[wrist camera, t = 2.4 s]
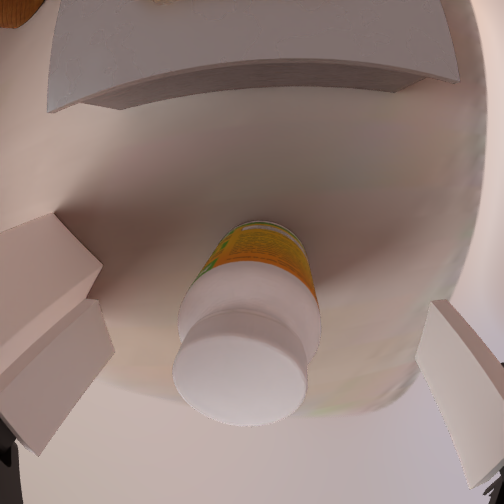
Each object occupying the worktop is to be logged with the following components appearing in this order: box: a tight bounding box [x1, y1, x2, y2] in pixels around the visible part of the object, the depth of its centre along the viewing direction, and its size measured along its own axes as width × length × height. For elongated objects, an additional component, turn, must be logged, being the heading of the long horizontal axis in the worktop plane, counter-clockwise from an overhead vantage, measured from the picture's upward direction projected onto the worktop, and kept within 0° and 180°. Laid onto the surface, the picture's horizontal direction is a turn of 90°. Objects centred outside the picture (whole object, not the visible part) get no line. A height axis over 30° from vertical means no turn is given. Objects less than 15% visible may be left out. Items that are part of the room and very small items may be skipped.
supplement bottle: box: [172, 221, 321, 426], centre depth 12 cm, size 5×5×10 cm
